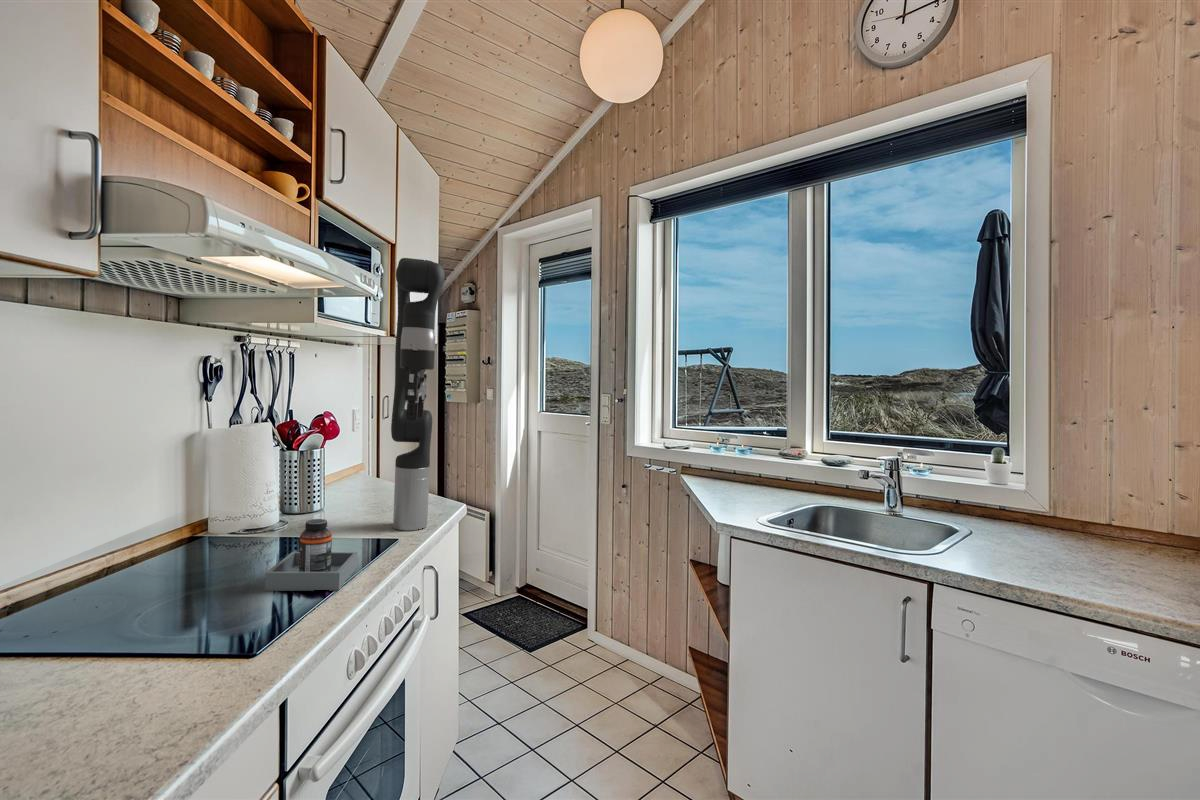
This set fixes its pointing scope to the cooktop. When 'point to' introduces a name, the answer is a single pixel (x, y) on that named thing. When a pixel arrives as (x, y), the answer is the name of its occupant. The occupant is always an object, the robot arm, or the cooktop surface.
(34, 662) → the cooktop surface
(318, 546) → the supplement bottle
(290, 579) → the tray
